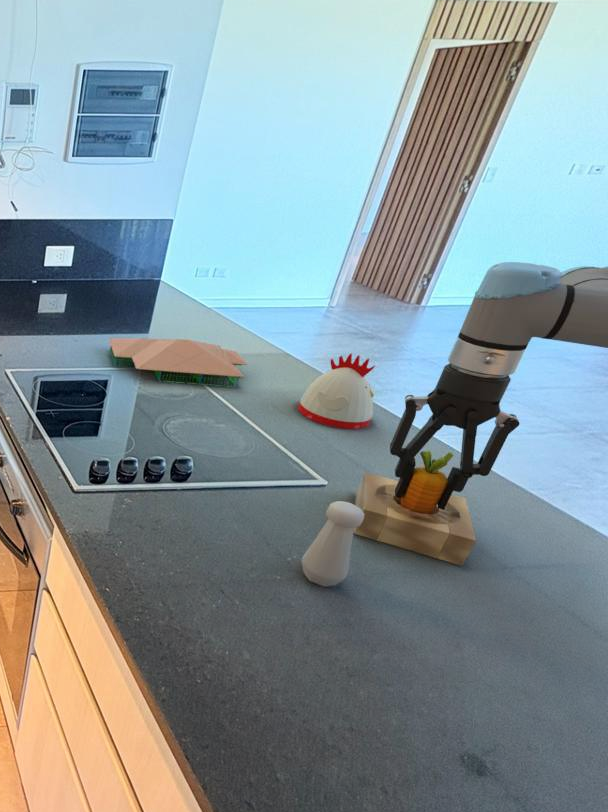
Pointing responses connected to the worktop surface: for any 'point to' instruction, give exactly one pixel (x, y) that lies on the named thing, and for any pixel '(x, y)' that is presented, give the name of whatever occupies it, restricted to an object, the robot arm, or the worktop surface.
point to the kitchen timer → (340, 396)
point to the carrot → (426, 485)
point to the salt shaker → (333, 545)
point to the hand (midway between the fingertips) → (418, 499)
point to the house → (178, 357)
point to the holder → (414, 522)
